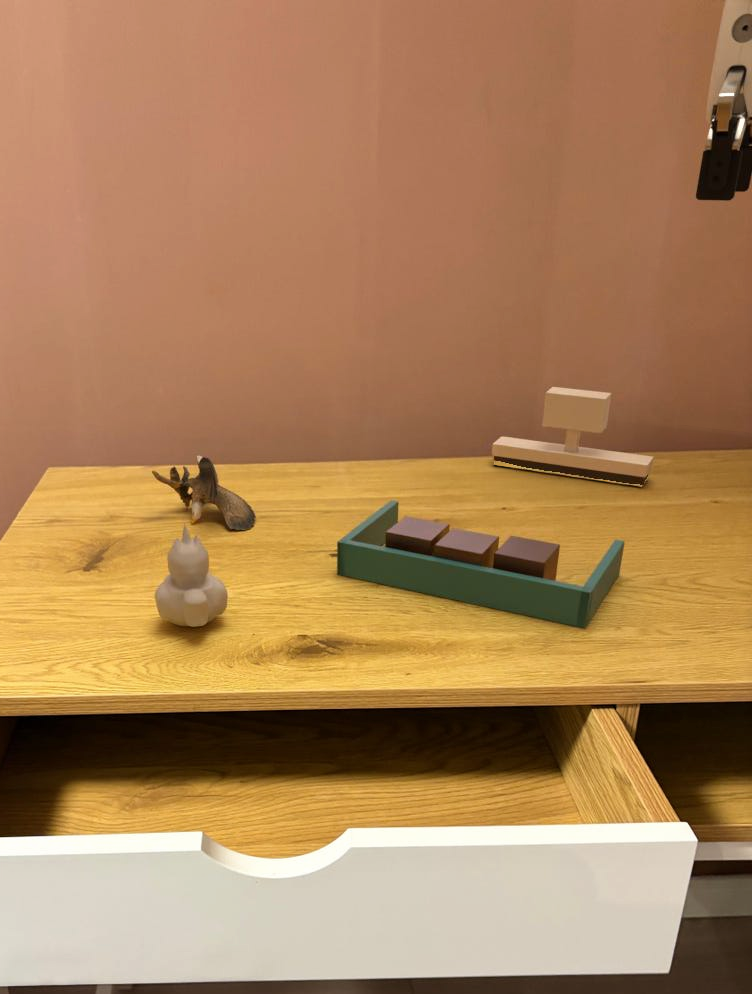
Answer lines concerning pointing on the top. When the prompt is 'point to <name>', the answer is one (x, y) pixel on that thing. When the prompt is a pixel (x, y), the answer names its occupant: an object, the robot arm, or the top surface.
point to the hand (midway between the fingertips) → (722, 195)
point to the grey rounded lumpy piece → (190, 585)
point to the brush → (574, 441)
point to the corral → (472, 576)
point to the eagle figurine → (209, 495)
